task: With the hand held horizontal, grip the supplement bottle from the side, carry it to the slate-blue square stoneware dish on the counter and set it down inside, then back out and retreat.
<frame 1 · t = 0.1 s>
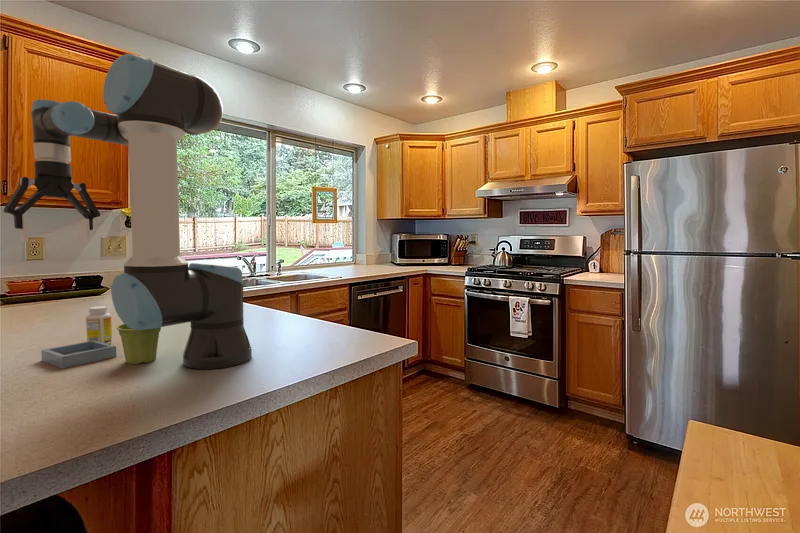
hand: (56, 242, 111), 28 cm above the counter, tool pointing down, fingers open, 13 cm apart
supplement bottle: (99, 345, 113), on the counter
plant pot: (141, 361, 99), on the counter
dish: (79, 358, 100), on the counter
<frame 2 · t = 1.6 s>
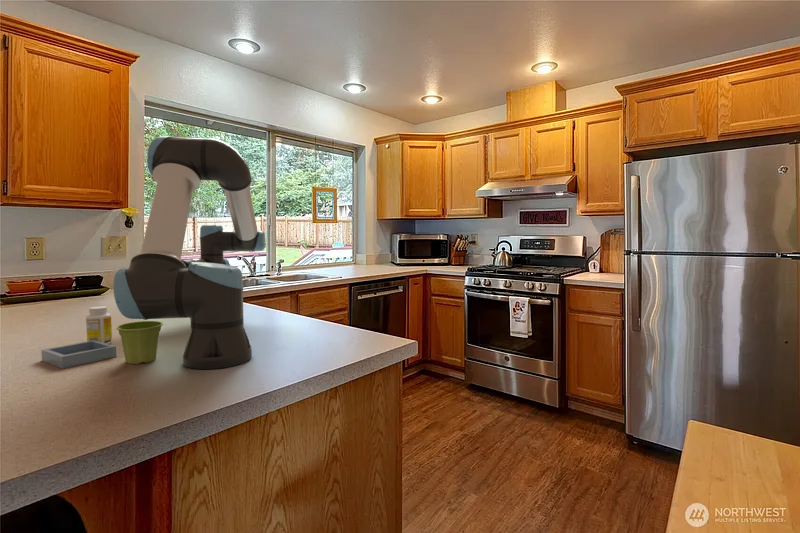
hand: (130, 275, 121), 18 cm above the counter, tool horizontal, fingers open, 13 cm apart
nothing on the counter moved.
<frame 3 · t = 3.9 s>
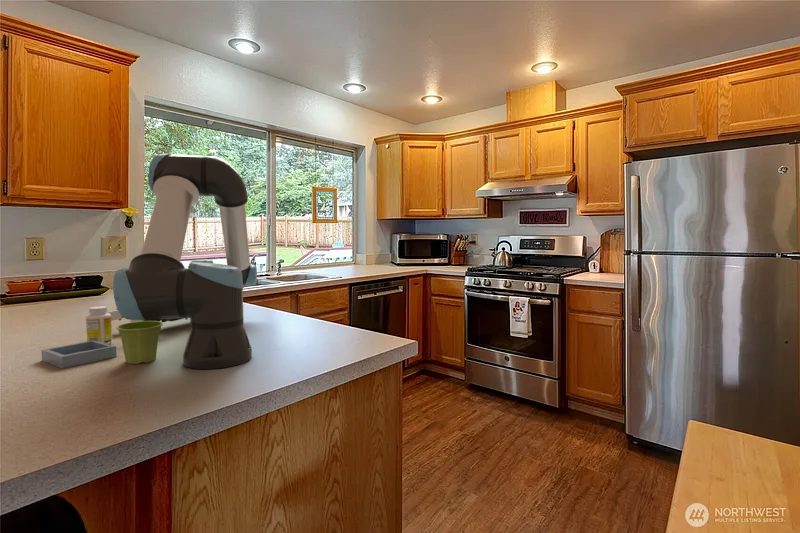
hand: (114, 319, 117), 6 cm above the counter, tool horizontal, fingers open, 13 cm apart
nothing on the counter moved.
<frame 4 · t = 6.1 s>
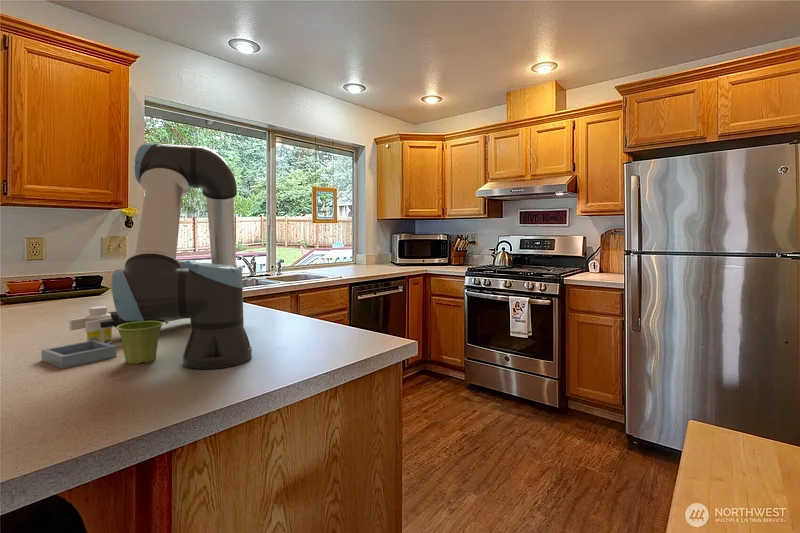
hand: (78, 326, 108), 6 cm above the counter, tool horizontal, fingers closed on supplement bottle, 5 cm apart
supplement bottle: (100, 344, 113), on the counter, touching gripper
everything else where it was.
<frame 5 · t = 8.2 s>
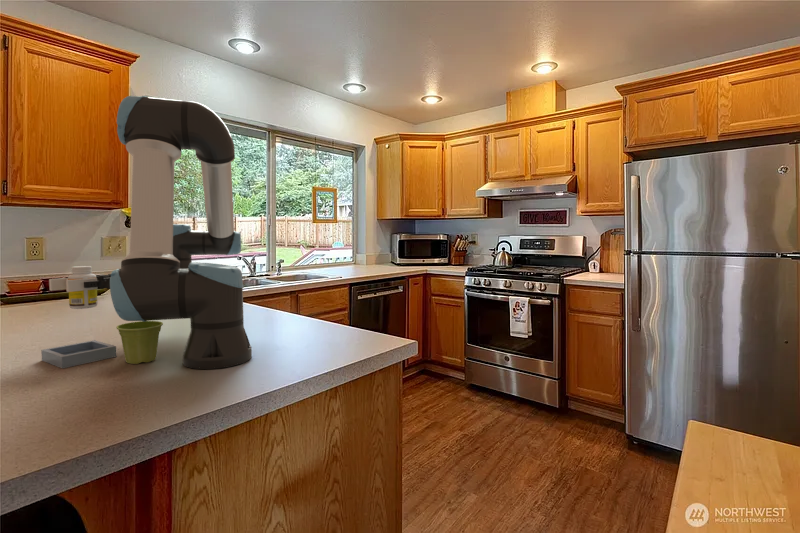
hand: (58, 285, 97), 18 cm above the counter, tool horizontal, fingers closed on supplement bottle, 5 cm apart
supplement bottle: (83, 308, 103), point 12 cm above the counter, touching gripper
everything else where it was.
when the fingers open (8 cm above the counter, at t = 10.6 s): supplement bottle drops 1 cm, resting on dish.
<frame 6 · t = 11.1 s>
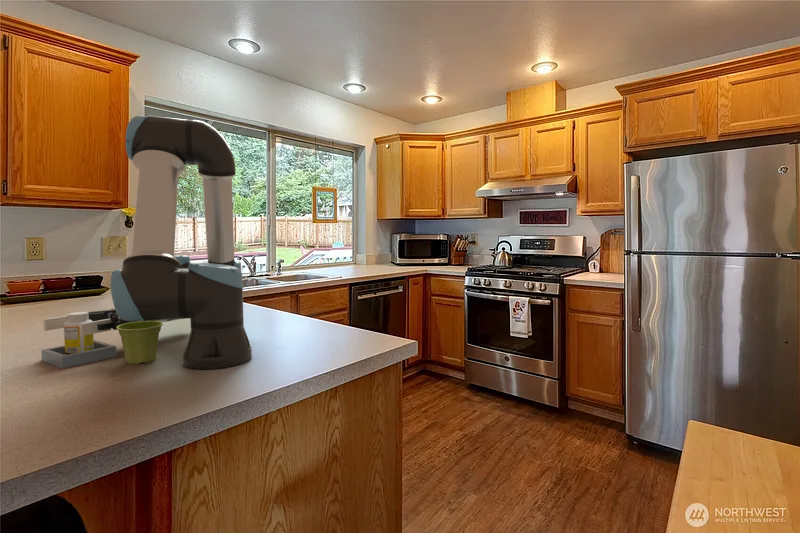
hand: (62, 327, 96), 8 cm above the counter, tool horizontal, fingers open, 12 cm apart
supplement bottle: (79, 355, 100), point 1 cm above the counter, touching dish
everything else where it was.
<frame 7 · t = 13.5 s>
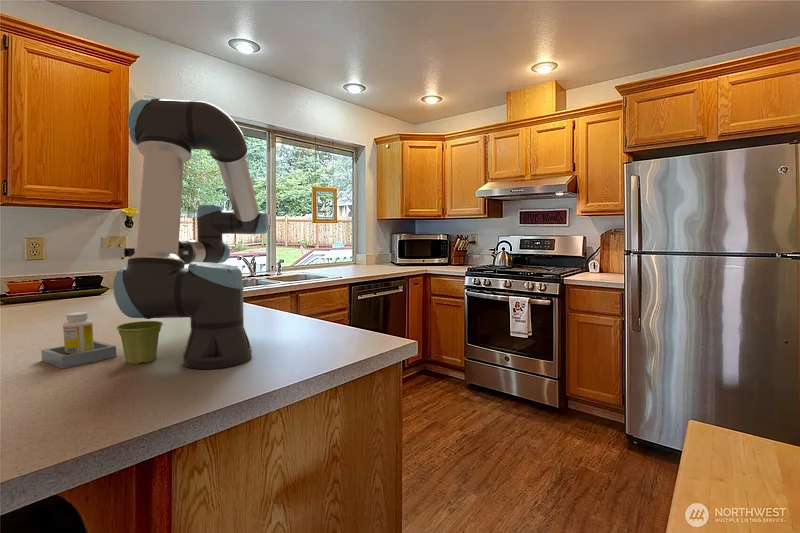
hand: (116, 252, 108), 25 cm above the counter, tool horizontal, fingers open, 13 cm apart
nothing on the counter moved.
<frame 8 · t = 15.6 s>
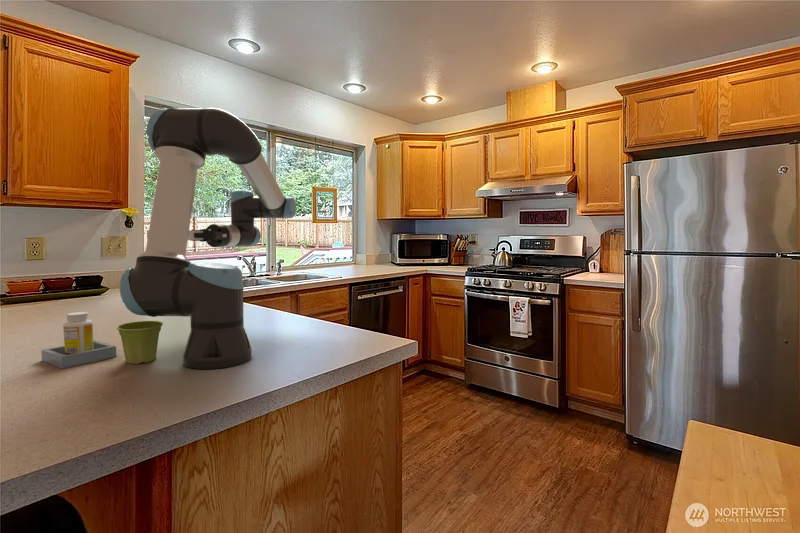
hand: (164, 235, 117), 30 cm above the counter, tool horizontal, fingers open, 13 cm apart
nothing on the counter moved.
at the end: supplement bottle inside the target area on the dish (0.1 cm from its centre), point 0.6 cm above the dish's base; supplement bottle tilted 0°; the gripper is holding nothing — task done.
